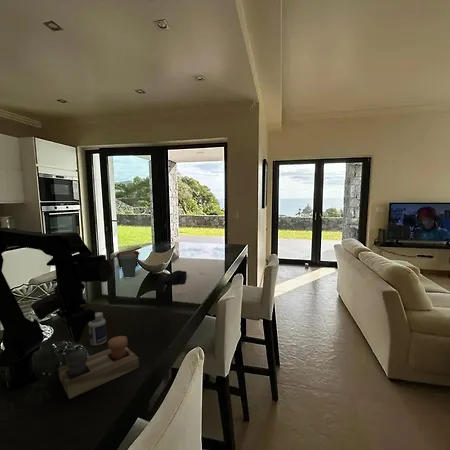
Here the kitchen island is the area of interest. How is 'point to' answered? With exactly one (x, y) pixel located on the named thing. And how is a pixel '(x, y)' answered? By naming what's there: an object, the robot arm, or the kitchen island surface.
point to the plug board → (97, 372)
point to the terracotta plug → (118, 347)
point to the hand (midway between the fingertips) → (74, 339)
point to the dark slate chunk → (174, 278)
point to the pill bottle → (97, 330)
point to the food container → (126, 252)
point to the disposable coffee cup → (128, 264)
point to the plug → (76, 362)
